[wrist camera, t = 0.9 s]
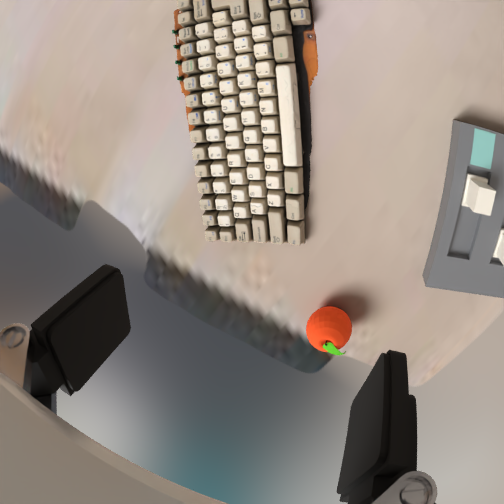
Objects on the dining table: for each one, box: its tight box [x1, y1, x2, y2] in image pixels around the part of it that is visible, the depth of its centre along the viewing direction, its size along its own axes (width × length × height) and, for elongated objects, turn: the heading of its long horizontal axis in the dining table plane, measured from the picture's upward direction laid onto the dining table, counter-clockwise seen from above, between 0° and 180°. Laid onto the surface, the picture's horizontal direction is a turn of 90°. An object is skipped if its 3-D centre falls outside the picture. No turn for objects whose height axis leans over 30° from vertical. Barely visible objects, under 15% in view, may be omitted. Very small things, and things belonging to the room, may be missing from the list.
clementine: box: [306, 306, 352, 355], centre depth 45 cm, size 8×7×7 cm
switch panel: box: [423, 120, 504, 298], centre depth 32 cm, size 22×14×3 cm, turn 0°
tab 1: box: [460, 173, 496, 216], centre depth 29 cm, size 4×3×4 cm
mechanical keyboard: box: [172, 0, 318, 245], centre depth 37 cm, size 38×19×3 cm, turn 6°
